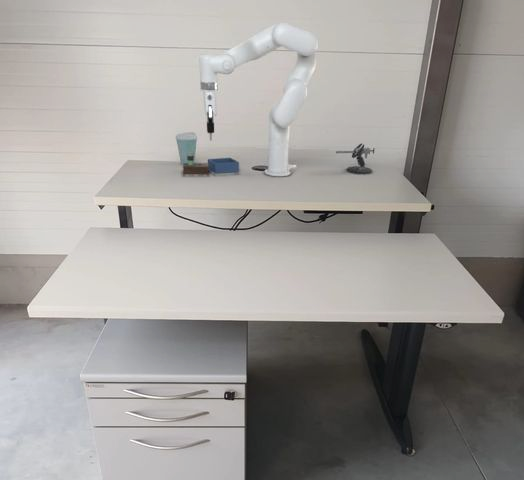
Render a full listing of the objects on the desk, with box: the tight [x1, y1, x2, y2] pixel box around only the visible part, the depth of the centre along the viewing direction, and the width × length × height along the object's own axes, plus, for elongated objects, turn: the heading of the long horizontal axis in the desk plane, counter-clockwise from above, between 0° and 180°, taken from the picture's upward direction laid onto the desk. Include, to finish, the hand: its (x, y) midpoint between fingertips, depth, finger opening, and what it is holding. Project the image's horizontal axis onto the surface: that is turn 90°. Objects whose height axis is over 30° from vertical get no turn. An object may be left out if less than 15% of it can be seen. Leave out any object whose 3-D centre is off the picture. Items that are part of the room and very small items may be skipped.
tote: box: [207, 157, 240, 175], centre depth 241 cm, size 12×10×6 cm
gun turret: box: [335, 143, 376, 175], centre depth 250 cm, size 13×20×13 cm, turn 102°
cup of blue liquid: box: [175, 131, 198, 165], centre depth 249 cm, size 11×11×15 cm
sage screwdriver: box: [187, 152, 194, 165], centre depth 234 cm, size 3×3×9 cm
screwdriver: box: [209, 133, 213, 141], centre depth 229 cm, size 3×3×9 cm
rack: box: [182, 162, 209, 175], centre depth 236 cm, size 7×11×4 cm, turn 96°
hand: (210, 131), depth 229 cm, fingers closed on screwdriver, 3 cm apart
